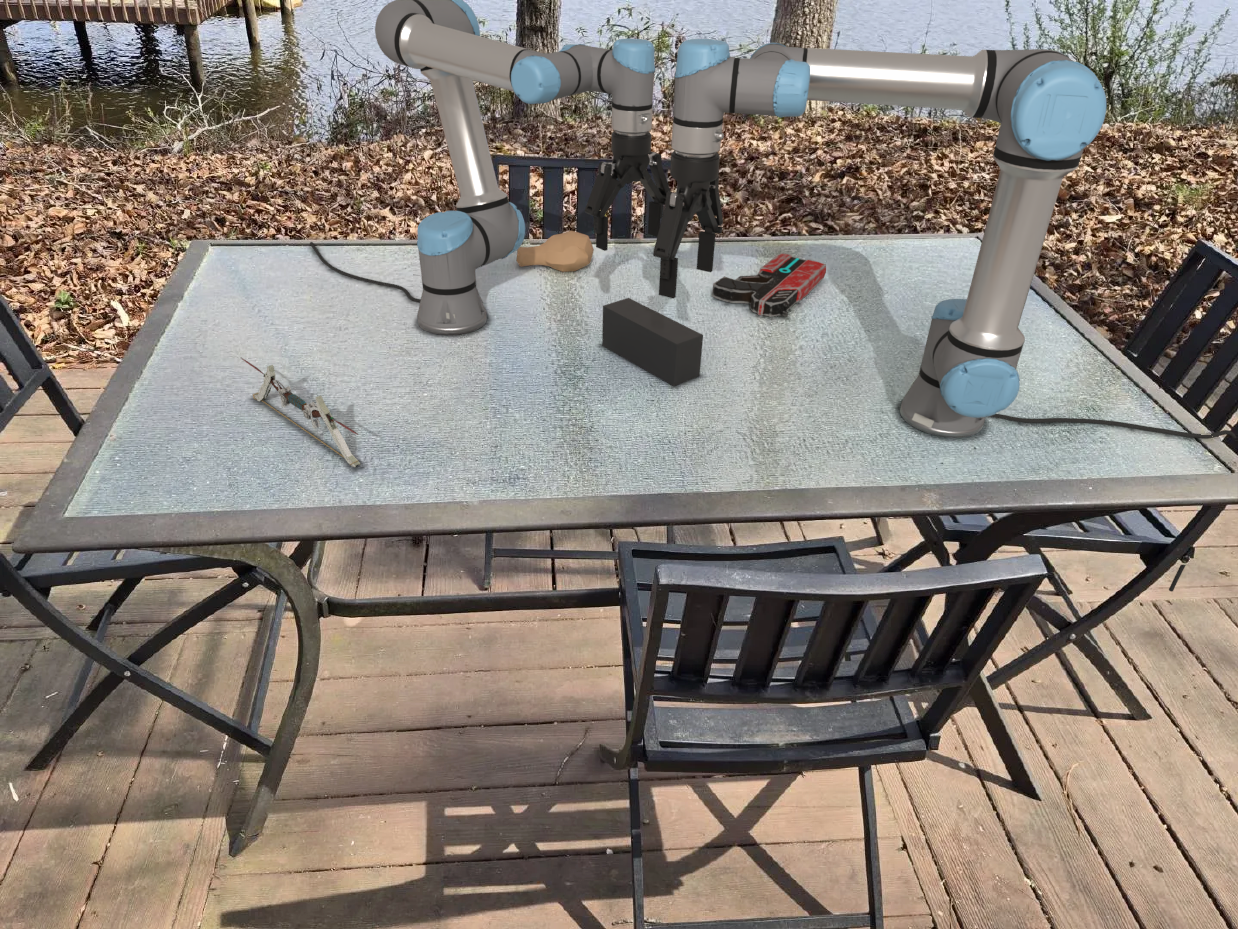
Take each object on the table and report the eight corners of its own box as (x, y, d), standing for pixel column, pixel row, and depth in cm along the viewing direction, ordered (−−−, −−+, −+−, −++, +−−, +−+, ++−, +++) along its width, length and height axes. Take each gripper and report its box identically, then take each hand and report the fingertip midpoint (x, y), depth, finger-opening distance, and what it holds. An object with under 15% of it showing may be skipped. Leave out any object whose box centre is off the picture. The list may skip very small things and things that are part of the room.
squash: (595, 275, 222) (590, 243, 216) (517, 282, 224) (510, 251, 218) (596, 253, 230) (591, 222, 224) (521, 260, 232) (514, 229, 225)
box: (602, 345, 189) (602, 305, 184) (627, 337, 193) (628, 297, 187) (674, 386, 174) (676, 344, 169) (699, 376, 178) (703, 334, 173)
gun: (708, 284, 207) (784, 305, 199) (760, 245, 229) (831, 262, 221) (706, 302, 209) (781, 323, 201) (758, 261, 231) (828, 278, 223)
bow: (370, 470, 147) (362, 419, 141) (361, 474, 146) (352, 423, 140) (254, 390, 168) (243, 343, 163) (245, 394, 167) (233, 346, 162)
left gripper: (591, 144, 155) (590, 260, 166) (693, 126, 168) (686, 234, 180) (566, 136, 159) (567, 248, 171) (667, 118, 173) (661, 224, 185)
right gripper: (679, 174, 124) (671, 313, 136) (751, 138, 142) (737, 264, 154) (633, 165, 127) (629, 302, 139) (709, 132, 145) (699, 255, 157)
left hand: (628, 241), depth 176 cm, fingers open, 13 cm apart
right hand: (686, 282), depth 146 cm, fingers open, 13 cm apart
